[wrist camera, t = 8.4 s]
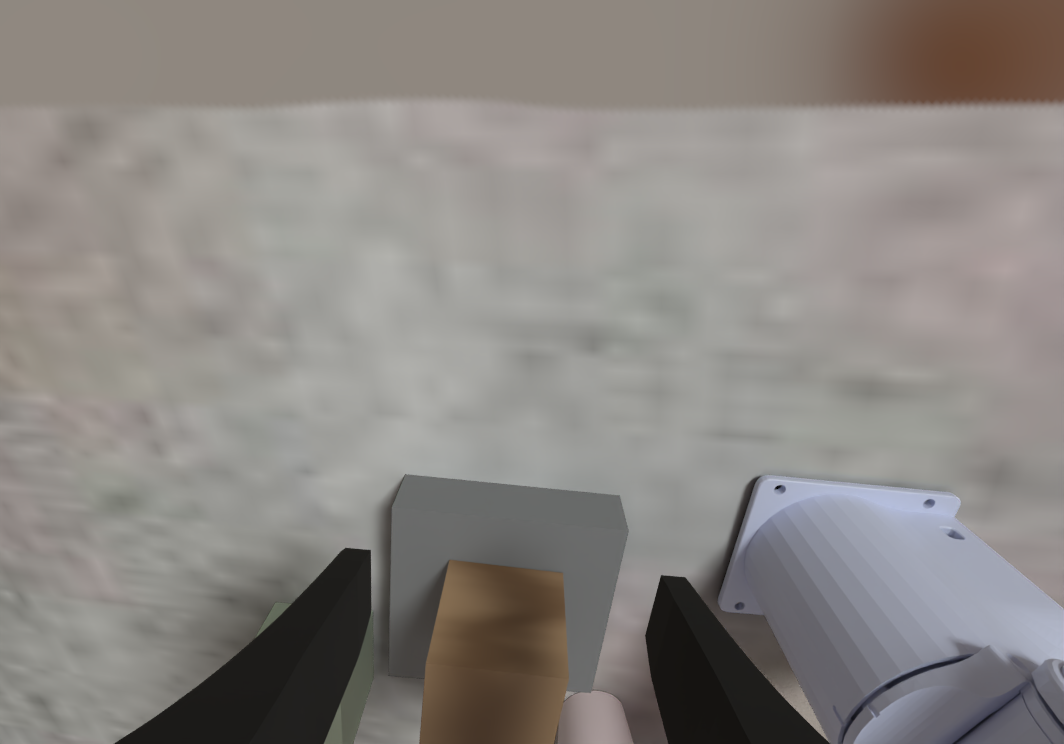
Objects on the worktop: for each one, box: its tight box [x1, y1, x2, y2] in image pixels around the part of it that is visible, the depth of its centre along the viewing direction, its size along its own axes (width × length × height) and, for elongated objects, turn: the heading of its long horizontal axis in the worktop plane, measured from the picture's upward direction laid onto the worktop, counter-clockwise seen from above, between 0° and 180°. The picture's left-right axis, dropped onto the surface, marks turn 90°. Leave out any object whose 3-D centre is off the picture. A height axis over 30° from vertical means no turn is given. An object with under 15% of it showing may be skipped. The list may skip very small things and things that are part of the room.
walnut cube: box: [419, 560, 569, 744], centre depth 21 cm, size 5×5×5 cm
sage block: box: [255, 602, 374, 744], centre depth 25 cm, size 5×5×5 cm
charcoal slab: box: [389, 474, 629, 693], centre depth 25 cm, size 10×10×3 cm
